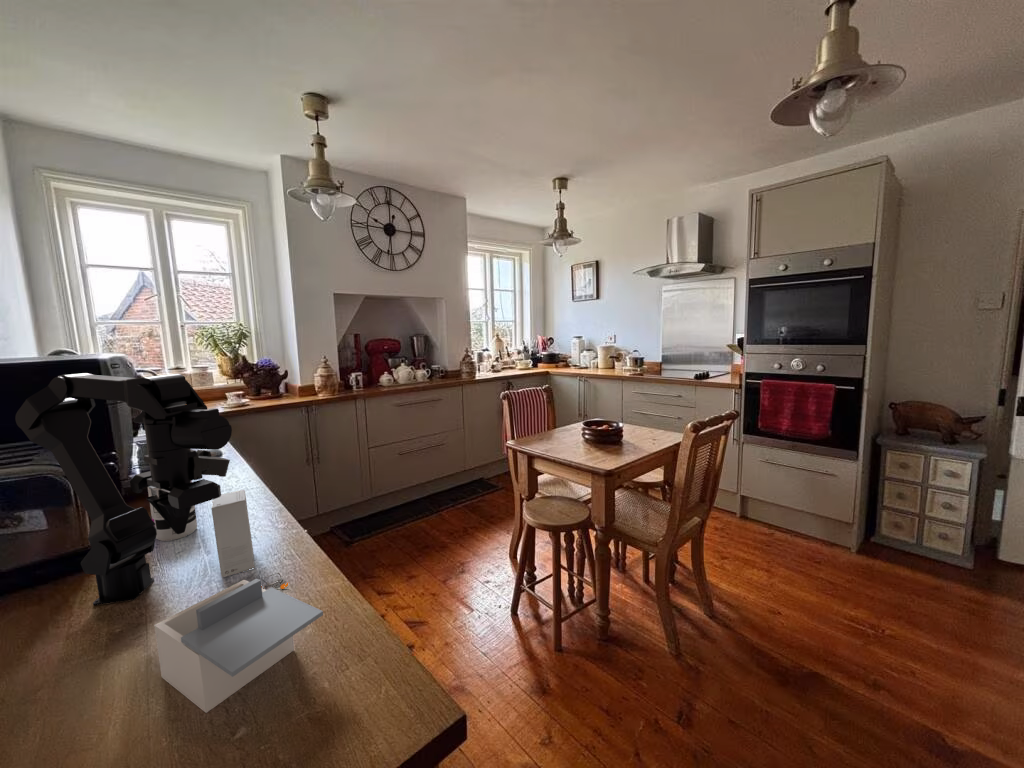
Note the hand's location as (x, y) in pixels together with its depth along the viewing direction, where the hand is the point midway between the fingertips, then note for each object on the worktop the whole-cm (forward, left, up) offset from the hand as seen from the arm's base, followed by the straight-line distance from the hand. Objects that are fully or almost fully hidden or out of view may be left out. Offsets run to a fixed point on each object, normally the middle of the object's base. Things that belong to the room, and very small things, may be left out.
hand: (180, 532), depth 75 cm
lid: (+19, -24, -5) cm, 31 cm away
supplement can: (-16, +31, -13) cm, 37 cm away
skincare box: (+4, +11, -13) cm, 18 cm away
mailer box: (+13, -19, -13) cm, 26 cm away
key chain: (+14, -1, -14) cm, 20 cm away
